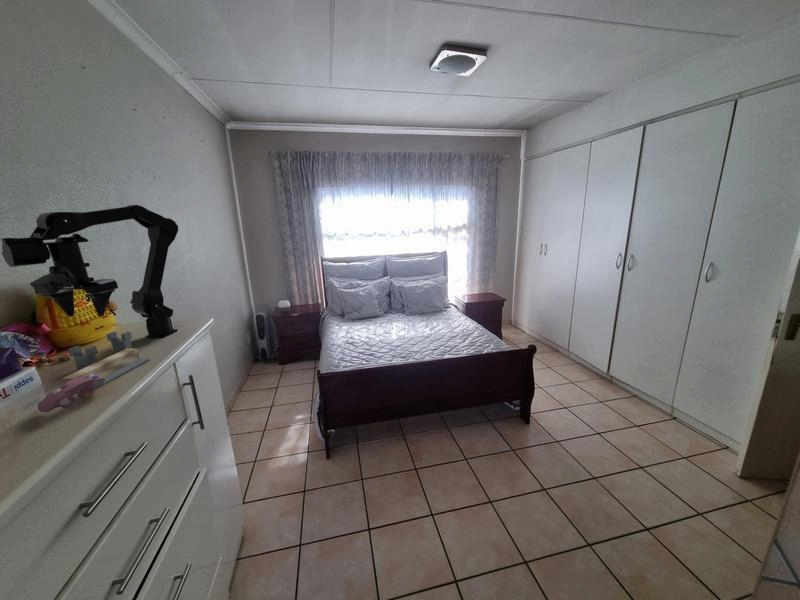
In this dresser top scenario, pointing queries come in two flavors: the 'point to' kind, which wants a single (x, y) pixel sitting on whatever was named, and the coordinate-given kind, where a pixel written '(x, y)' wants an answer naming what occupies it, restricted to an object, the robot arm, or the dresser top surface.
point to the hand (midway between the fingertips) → (86, 316)
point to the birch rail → (107, 365)
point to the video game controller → (71, 392)
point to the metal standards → (90, 353)
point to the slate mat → (123, 370)
